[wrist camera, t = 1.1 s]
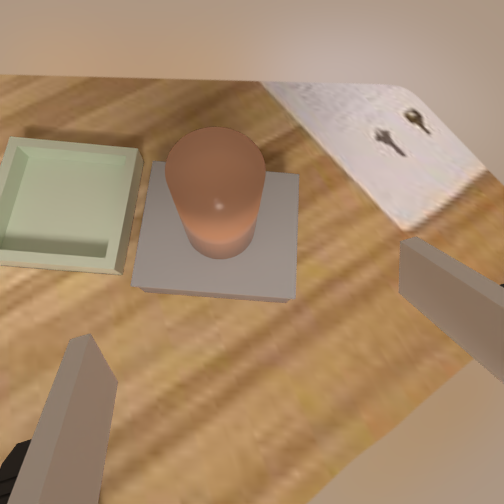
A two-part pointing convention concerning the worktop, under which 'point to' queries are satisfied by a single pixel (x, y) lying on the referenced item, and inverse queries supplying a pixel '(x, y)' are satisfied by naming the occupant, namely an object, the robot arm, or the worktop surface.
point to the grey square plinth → (220, 270)
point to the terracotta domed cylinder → (216, 189)
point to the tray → (67, 205)
